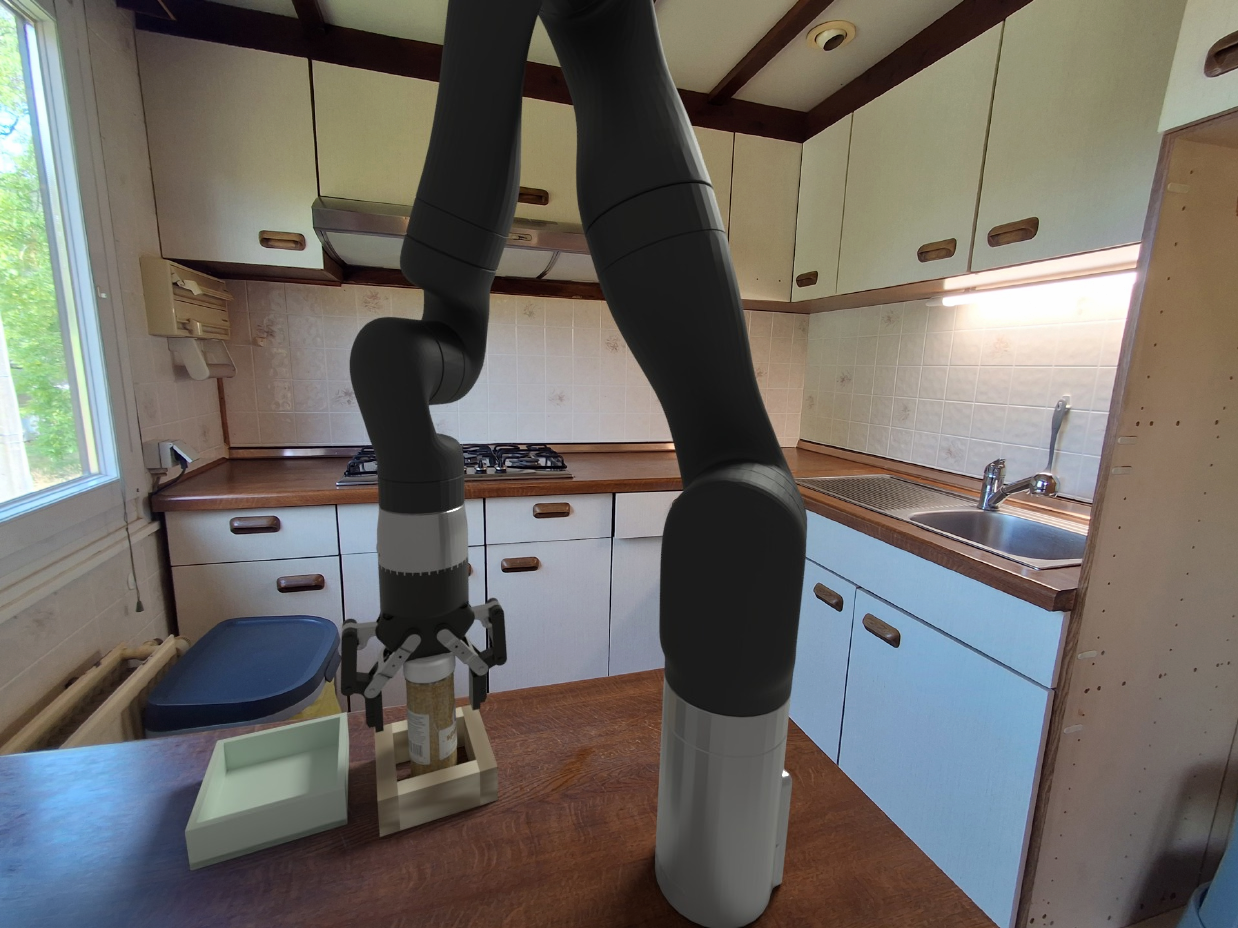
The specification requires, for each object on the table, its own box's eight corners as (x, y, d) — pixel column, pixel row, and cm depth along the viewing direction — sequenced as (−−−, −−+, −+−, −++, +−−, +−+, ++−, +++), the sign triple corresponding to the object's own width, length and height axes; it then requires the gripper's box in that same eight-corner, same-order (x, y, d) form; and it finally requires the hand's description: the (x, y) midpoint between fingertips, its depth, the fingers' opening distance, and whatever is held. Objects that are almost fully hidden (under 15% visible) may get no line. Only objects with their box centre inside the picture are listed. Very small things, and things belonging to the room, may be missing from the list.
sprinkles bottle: (465, 784, 52) (461, 655, 50) (415, 804, 50) (408, 669, 47) (451, 754, 56) (446, 633, 53) (404, 772, 53) (397, 645, 51)
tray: (349, 742, 57) (346, 711, 56) (347, 823, 47) (344, 787, 47) (221, 773, 53) (217, 740, 52) (190, 870, 43) (184, 831, 42)
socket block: (477, 732, 59) (476, 703, 59) (498, 799, 50) (497, 766, 50) (376, 758, 55) (374, 727, 54) (379, 836, 46) (377, 801, 46)
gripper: (331, 579, 42) (343, 763, 45) (514, 557, 48) (513, 721, 51) (335, 547, 49) (345, 709, 52) (495, 531, 55) (495, 677, 58)
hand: (428, 715), depth 52 cm, fingers open, 8 cm apart
